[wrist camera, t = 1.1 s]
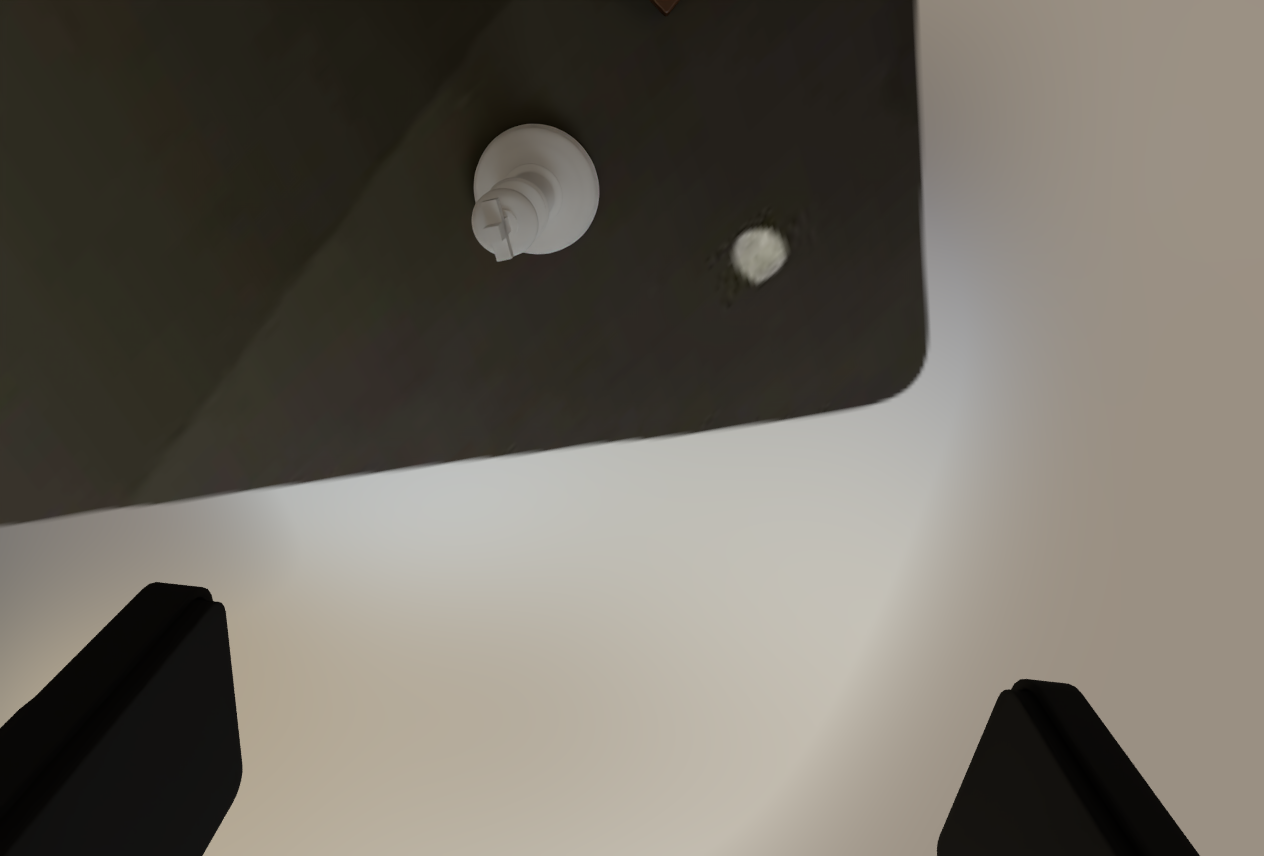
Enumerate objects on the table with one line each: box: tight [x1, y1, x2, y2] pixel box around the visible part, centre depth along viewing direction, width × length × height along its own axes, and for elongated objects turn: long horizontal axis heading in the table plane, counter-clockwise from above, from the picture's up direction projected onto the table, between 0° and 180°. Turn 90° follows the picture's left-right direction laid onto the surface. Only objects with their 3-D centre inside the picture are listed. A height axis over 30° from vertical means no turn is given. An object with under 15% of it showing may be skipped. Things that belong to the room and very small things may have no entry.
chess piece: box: [472, 124, 599, 262], centre depth 26 cm, size 5×5×10 cm
